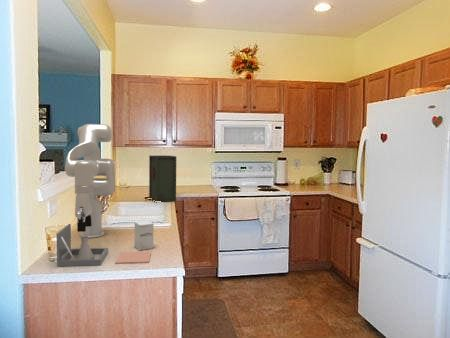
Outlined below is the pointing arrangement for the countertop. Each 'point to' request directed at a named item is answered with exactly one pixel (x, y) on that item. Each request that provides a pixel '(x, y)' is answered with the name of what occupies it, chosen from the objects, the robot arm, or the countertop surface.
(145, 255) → the plate
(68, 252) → the case
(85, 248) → the flask
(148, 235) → the supplement box
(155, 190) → the dark green tall block
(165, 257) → the countertop surface
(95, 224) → the robot arm
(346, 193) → the countertop surface
